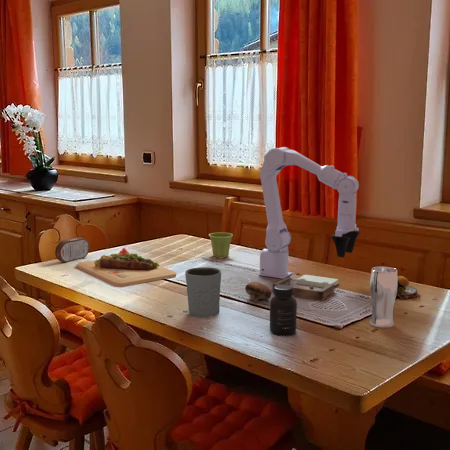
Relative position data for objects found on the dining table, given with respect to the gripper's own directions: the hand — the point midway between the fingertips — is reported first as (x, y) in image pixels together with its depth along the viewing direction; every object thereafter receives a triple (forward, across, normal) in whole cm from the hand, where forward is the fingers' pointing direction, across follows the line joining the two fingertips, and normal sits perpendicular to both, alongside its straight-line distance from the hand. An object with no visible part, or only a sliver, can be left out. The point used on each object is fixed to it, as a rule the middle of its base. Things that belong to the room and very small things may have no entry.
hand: (345, 254), depth 200 cm
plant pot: (+10, +12, +55) cm, 58 cm away
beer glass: (+10, -34, -23) cm, 42 cm away
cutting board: (+11, -26, +72) cm, 77 cm away
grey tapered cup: (+10, -50, +23) cm, 56 cm away
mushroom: (+10, -32, +15) cm, 37 cm away
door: (+10, -5, +7) cm, 14 cm away
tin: (+11, -23, +100) cm, 103 cm away
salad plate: (+10, -3, -19) cm, 22 cm away
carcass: (+10, -16, +7) cm, 20 cm away
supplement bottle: (+10, -53, -3) cm, 54 cm away
